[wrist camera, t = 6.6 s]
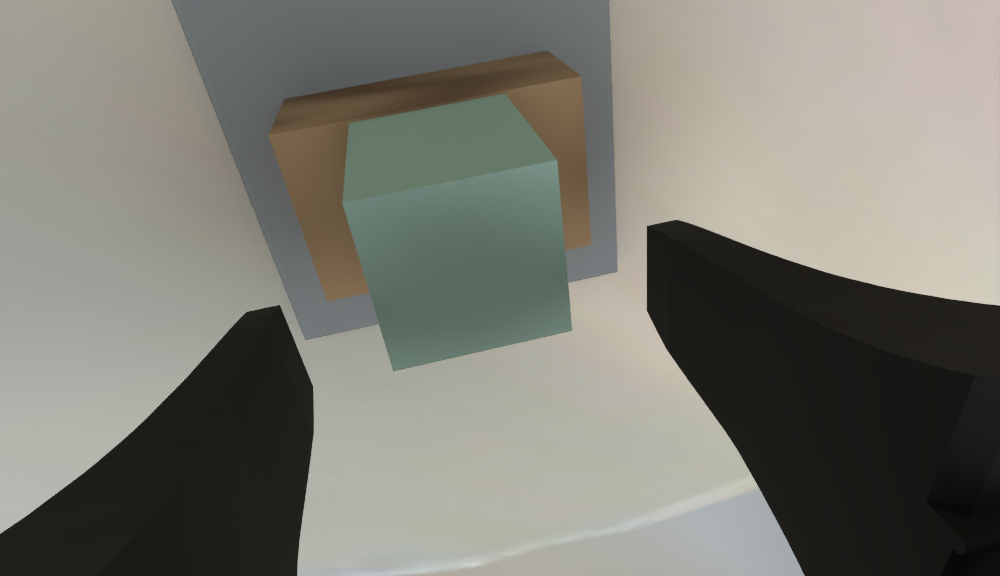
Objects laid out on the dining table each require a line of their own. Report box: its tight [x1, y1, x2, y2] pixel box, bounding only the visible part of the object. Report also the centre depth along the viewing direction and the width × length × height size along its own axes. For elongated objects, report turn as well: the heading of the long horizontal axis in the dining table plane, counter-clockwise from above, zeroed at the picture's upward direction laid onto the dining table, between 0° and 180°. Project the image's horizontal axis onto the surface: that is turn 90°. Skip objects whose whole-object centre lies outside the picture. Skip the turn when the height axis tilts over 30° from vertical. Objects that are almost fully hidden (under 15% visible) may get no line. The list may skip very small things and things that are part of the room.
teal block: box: [342, 93, 572, 371], centre depth 14 cm, size 4×4×5 cm
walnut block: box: [268, 51, 591, 302], centre depth 18 cm, size 8×5×4 cm, turn 97°
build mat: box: [172, 0, 617, 340], centre depth 20 cm, size 12×12×1 cm
